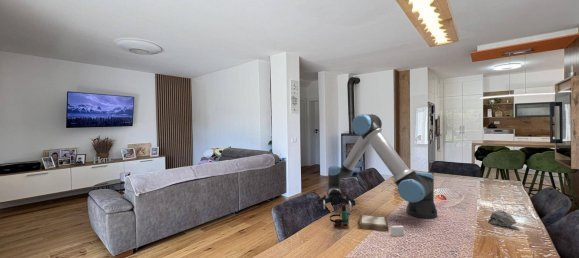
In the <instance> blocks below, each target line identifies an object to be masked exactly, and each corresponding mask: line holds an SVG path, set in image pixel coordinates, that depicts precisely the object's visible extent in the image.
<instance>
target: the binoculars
mask: <svg viewBox="0 0 579 258" xmlns="http://www.w3.org/2000/svg"><path fill="white" fill-rule="evenodd" d="M340 210H341V212H339V213H334V214H331V215H330V216H329V221H331V222H332V223H333V226H334V228H341V227H343V228H344V229H349V228H350V226H349V224H350V223H349V222H350V221H349V220H350V219H349V216H350V215H351V214H350V212H348V208H347V204H346V203H341V209H340ZM333 217H339V218H337V219H332V218H333Z"/></svg>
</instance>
